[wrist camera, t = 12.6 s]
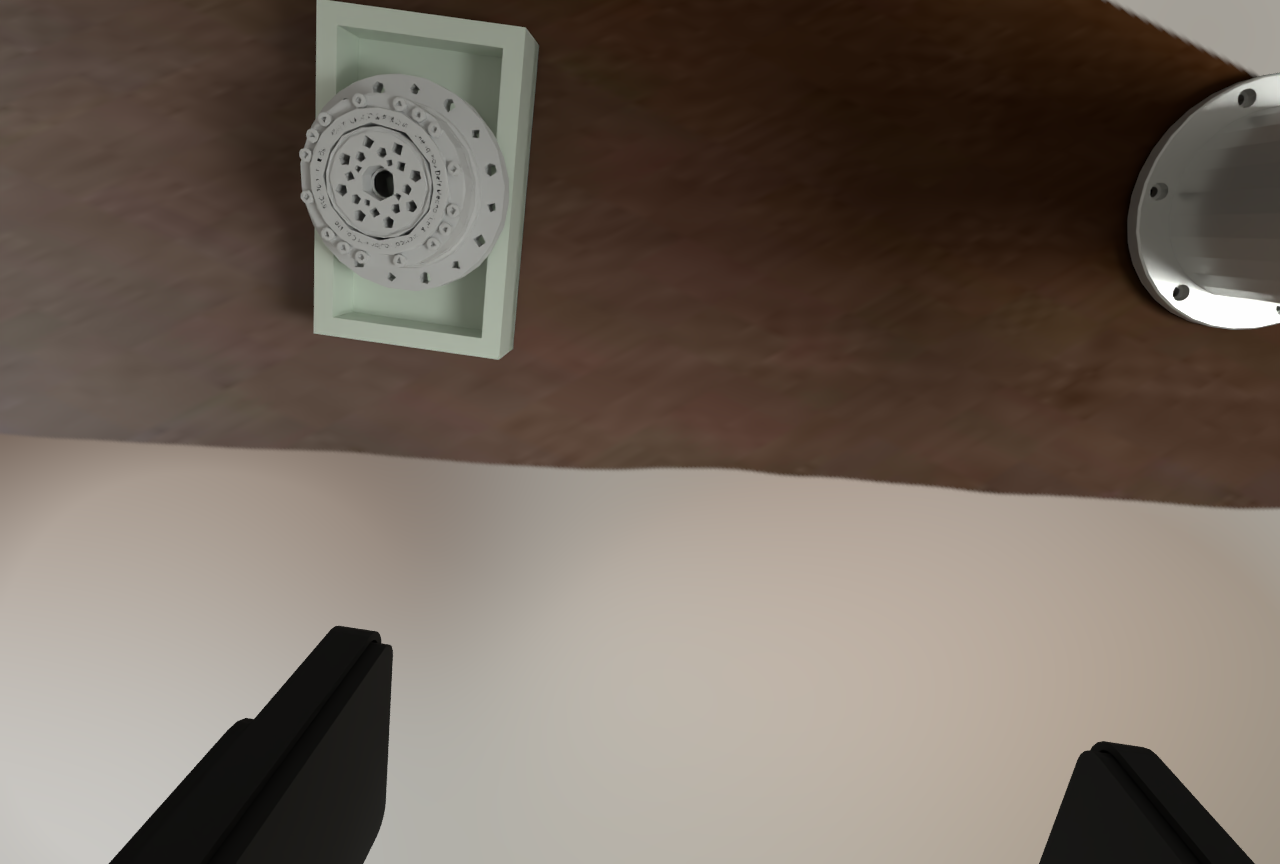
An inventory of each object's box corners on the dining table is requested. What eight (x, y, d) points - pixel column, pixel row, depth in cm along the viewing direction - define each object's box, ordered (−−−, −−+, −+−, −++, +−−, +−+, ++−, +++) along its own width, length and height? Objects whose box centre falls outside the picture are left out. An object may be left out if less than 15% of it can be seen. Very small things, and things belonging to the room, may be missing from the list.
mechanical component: (549, 161, 36) (375, 34, 35) (532, 153, 32) (333, 7, 30) (446, 326, 38) (281, 212, 37) (417, 338, 34) (230, 210, 33)
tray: (539, 45, 38) (525, 27, 34) (512, 348, 42) (498, 359, 39) (348, 18, 38) (316, -2, 34) (342, 324, 42) (313, 333, 39)
